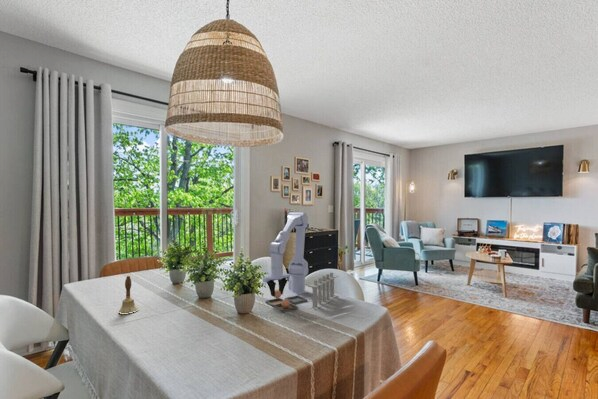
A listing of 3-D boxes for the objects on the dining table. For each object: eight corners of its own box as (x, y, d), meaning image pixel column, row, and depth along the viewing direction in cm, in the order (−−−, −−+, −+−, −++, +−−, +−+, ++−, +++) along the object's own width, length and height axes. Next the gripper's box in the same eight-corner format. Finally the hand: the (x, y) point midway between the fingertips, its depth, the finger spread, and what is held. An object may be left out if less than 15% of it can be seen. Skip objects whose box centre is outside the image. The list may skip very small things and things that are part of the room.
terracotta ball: (271, 297, 151) (271, 289, 151) (278, 296, 153) (278, 288, 153) (275, 299, 148) (275, 291, 148) (282, 298, 150) (282, 290, 150)
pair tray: (265, 303, 151) (265, 300, 151) (279, 300, 156) (279, 297, 156) (283, 313, 138) (283, 310, 138) (297, 309, 143) (297, 306, 143)
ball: (279, 307, 145) (279, 299, 145) (286, 305, 147) (286, 297, 147) (284, 310, 141) (284, 301, 141) (291, 308, 144) (291, 299, 144)
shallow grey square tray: (284, 301, 156) (284, 298, 156) (297, 298, 160) (297, 295, 160) (293, 305, 149) (293, 302, 149) (307, 302, 154) (307, 299, 154)
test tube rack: (316, 311, 142) (316, 282, 142) (307, 309, 144) (307, 281, 144) (338, 296, 163) (338, 271, 163) (330, 295, 165) (330, 270, 165)
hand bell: (113, 313, 139) (113, 277, 139) (130, 307, 146) (130, 273, 147) (125, 316, 135) (125, 279, 135) (142, 310, 143) (142, 275, 143)
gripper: (267, 270, 143) (267, 299, 143) (293, 266, 151) (293, 294, 151) (260, 267, 149) (260, 295, 149) (286, 264, 157) (285, 290, 157)
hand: (276, 294), depth 150 cm, fingers closed on terracotta ball, 4 cm apart
